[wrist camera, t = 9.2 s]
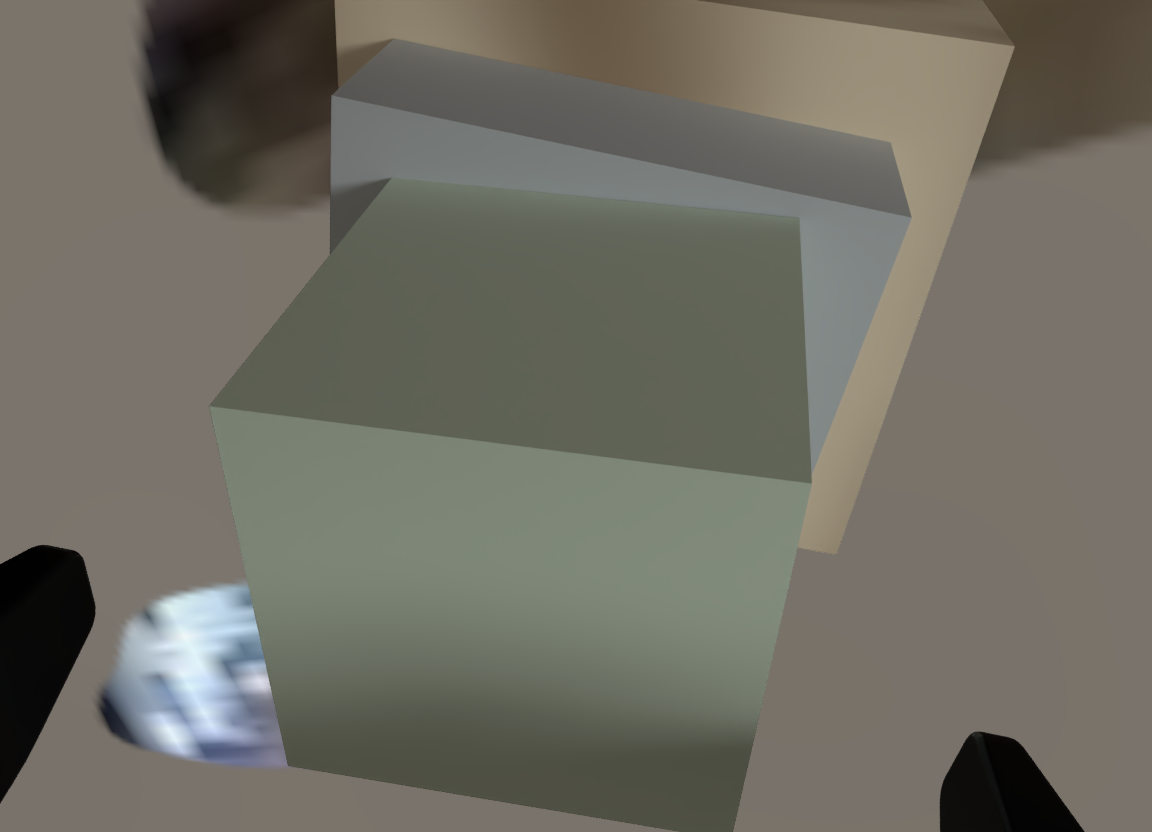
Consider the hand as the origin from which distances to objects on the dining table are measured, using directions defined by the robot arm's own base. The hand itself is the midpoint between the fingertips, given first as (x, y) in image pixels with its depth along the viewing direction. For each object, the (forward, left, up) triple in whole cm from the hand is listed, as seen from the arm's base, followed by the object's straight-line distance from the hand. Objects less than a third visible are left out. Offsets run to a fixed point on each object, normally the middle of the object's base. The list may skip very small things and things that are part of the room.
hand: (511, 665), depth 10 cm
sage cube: (0, 0, -5) cm, 5 cm away
